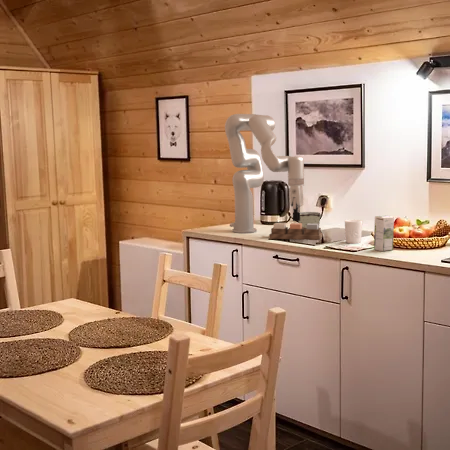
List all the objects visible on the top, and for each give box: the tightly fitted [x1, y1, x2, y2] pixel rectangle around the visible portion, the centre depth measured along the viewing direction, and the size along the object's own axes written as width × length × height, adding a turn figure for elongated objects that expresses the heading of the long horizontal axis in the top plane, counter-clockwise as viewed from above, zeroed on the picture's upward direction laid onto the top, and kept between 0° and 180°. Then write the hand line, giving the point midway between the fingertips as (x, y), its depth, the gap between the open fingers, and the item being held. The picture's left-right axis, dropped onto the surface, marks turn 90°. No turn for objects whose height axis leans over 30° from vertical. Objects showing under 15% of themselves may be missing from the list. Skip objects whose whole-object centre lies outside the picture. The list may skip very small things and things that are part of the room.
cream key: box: [273, 222, 287, 229], centre depth 333 cm, size 5×5×3 cm
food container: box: [297, 211, 322, 229], centre depth 349 cm, size 12×6×10 cm, turn 84°
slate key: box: [307, 223, 320, 229], centre depth 328 cm, size 5×5×3 cm
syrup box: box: [373, 215, 395, 252], centre depth 291 cm, size 6×6×14 cm
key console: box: [268, 226, 323, 241], centre depth 331 cm, size 24×10×5 cm, turn 74°
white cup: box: [344, 219, 364, 244], centre depth 313 cm, size 8×8×10 cm
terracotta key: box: [289, 222, 302, 229], centre depth 330 cm, size 5×5×3 cm
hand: (296, 220), depth 330 cm, fingers closed
